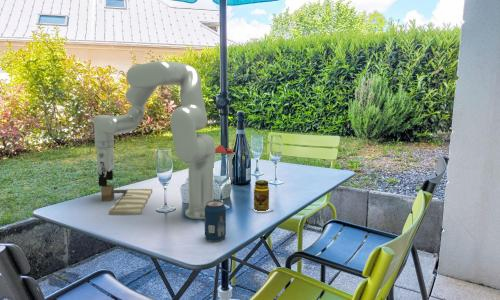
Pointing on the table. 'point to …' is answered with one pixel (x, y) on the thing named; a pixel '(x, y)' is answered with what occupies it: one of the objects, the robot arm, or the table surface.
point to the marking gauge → (109, 192)
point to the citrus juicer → (231, 154)
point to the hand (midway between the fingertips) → (106, 182)
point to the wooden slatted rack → (131, 202)
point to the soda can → (215, 220)
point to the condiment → (261, 195)
